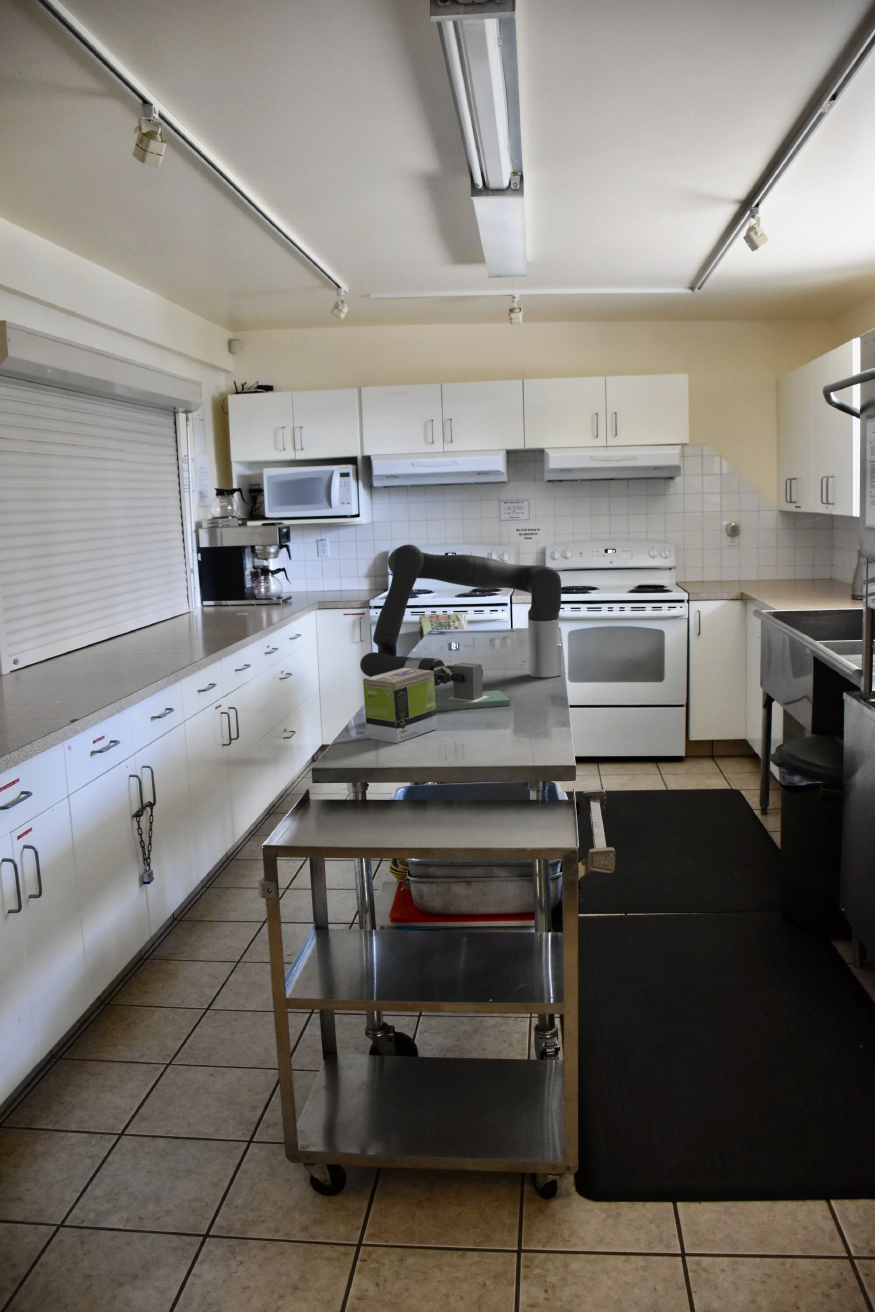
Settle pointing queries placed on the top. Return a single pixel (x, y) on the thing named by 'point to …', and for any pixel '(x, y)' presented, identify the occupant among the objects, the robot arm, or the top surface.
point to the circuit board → (471, 701)
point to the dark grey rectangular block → (468, 681)
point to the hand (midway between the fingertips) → (473, 675)
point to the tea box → (400, 704)
